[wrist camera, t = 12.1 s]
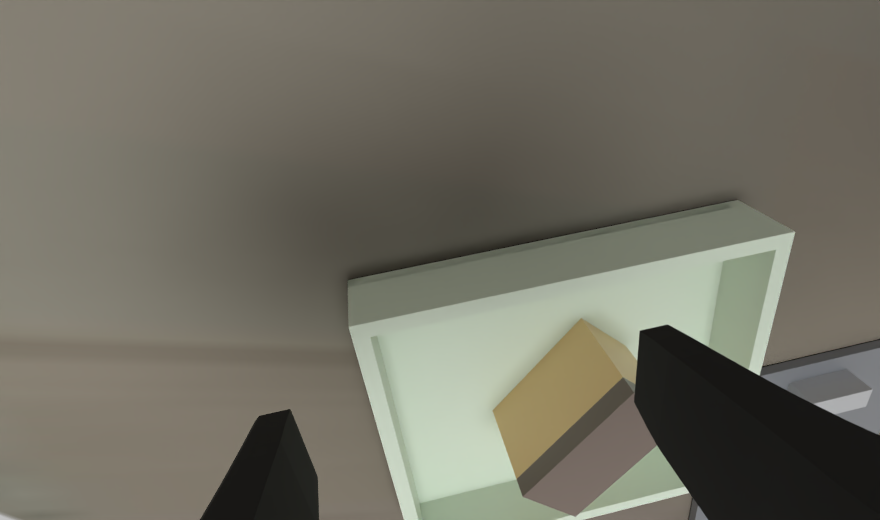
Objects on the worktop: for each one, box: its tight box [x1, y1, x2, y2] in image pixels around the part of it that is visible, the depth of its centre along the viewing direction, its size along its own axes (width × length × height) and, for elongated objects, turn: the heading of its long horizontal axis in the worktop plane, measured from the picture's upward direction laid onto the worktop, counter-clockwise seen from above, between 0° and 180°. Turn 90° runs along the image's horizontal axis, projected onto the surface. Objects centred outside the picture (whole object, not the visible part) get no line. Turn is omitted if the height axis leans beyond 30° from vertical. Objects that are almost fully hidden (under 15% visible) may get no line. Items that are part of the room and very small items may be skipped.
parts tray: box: [348, 200, 795, 520], centre depth 22 cm, size 16×14×3 cm
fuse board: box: [689, 340, 880, 520], centre depth 31 cm, size 11×22×2 cm, turn 8°
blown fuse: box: [493, 318, 657, 517], centre depth 21 cm, size 3×6×4 cm, turn 143°
